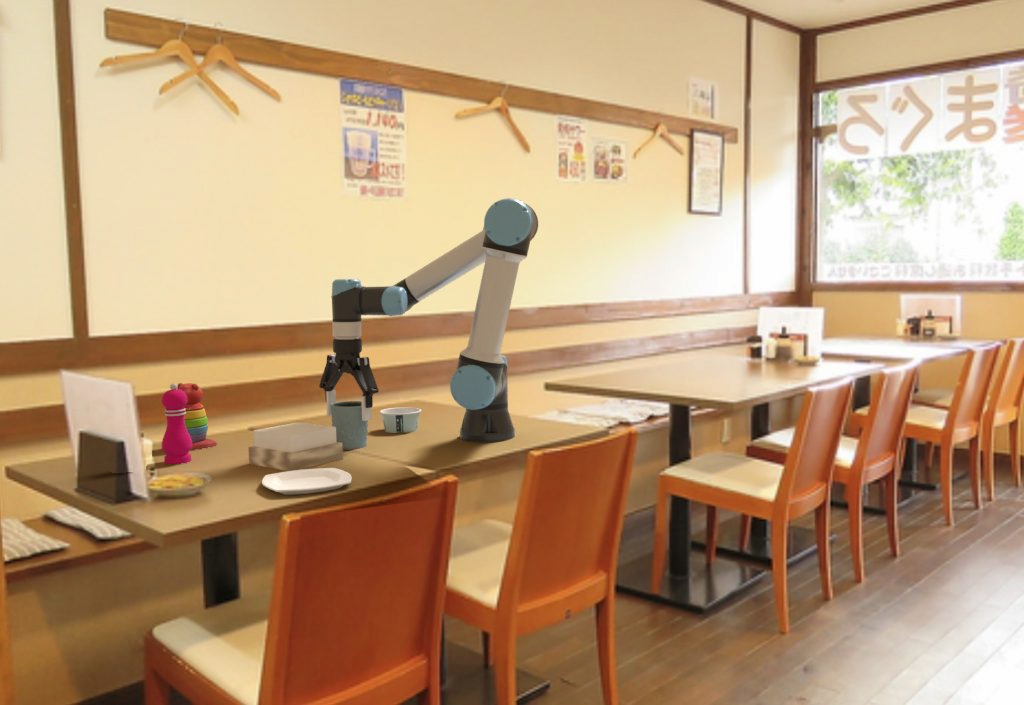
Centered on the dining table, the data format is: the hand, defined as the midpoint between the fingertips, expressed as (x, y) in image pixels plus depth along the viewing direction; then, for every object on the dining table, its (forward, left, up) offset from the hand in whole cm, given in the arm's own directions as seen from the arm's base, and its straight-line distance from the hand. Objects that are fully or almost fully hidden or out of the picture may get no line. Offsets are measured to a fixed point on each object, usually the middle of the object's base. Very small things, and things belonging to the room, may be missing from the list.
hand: (348, 417), depth 235 cm
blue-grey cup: (0, 0, -8) cm, 8 cm away
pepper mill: (+24, +36, -8) cm, 44 cm away
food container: (+5, -24, -9) cm, 26 cm away
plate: (-23, +34, -9) cm, 42 cm away
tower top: (-2, +20, -4) cm, 20 cm away
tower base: (-2, +20, -9) cm, 22 cm away
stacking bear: (+38, +23, -8) cm, 45 cm away
